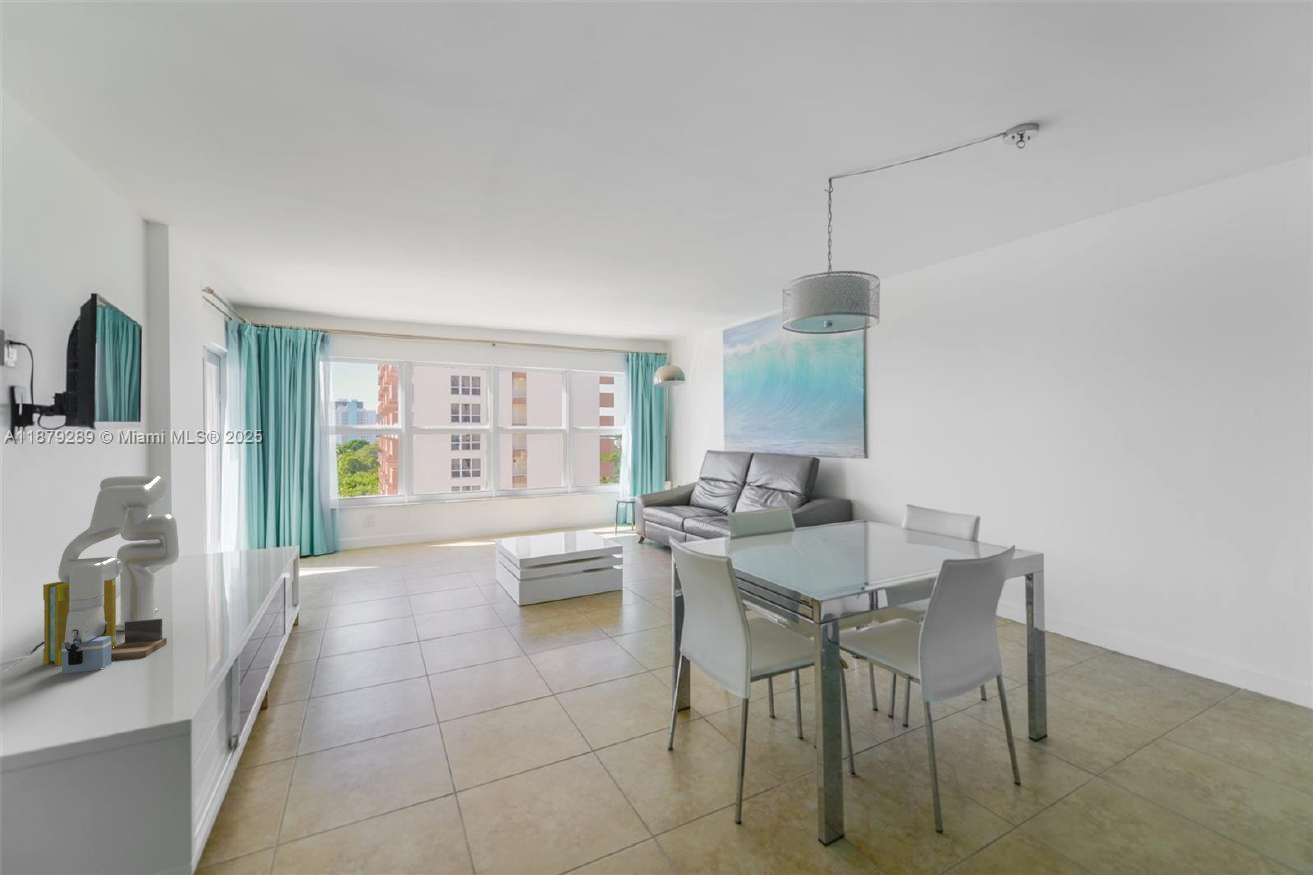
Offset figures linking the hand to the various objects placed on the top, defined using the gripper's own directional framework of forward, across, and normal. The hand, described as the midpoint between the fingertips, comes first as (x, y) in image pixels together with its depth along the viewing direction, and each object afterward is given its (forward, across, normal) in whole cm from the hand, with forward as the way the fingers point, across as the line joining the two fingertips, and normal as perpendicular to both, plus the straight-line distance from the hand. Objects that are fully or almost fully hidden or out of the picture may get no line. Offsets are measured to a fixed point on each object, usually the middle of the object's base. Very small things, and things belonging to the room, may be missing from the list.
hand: (86, 658), depth 171 cm
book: (+3, -15, -9) cm, 18 cm away
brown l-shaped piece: (+3, -12, +6) cm, 14 cm away
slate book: (+3, 0, 0) cm, 3 cm away
